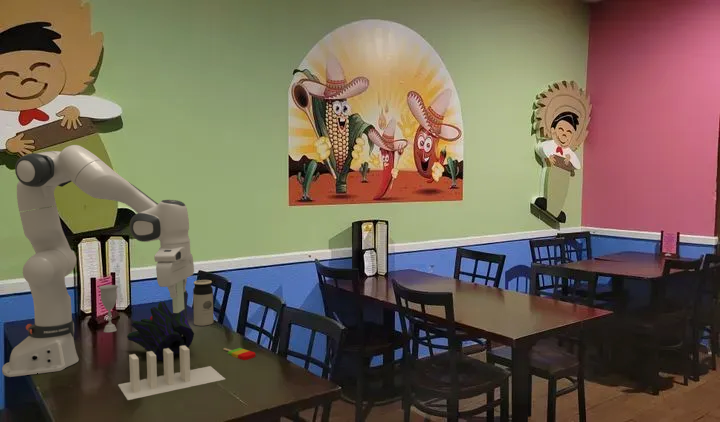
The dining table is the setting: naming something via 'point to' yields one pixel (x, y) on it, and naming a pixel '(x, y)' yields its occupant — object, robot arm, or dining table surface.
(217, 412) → the dining table surface
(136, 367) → the domino
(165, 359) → the domino
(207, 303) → the travel mug
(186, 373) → the domino
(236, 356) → the popsicle
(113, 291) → the chalice
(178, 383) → the mat
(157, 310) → the decorative plant
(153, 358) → the domino
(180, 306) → the domino
